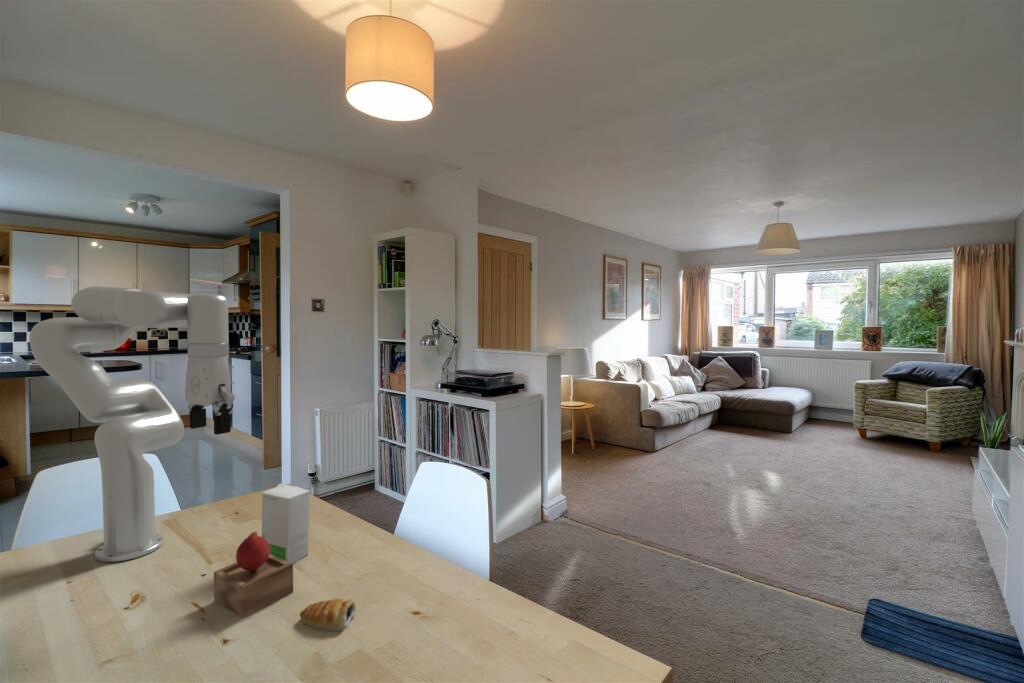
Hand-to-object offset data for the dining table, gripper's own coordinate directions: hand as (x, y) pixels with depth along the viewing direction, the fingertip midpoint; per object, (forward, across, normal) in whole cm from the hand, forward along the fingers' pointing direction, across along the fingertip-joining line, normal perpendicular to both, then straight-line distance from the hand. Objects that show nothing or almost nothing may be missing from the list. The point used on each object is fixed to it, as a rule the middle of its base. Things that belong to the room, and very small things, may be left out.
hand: (210, 430), depth 106 cm
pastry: (+31, +38, +1) cm, 49 cm away
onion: (+25, +19, -2) cm, 32 cm away
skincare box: (+30, +10, +11) cm, 34 cm away
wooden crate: (+30, +19, -2) cm, 36 cm away
